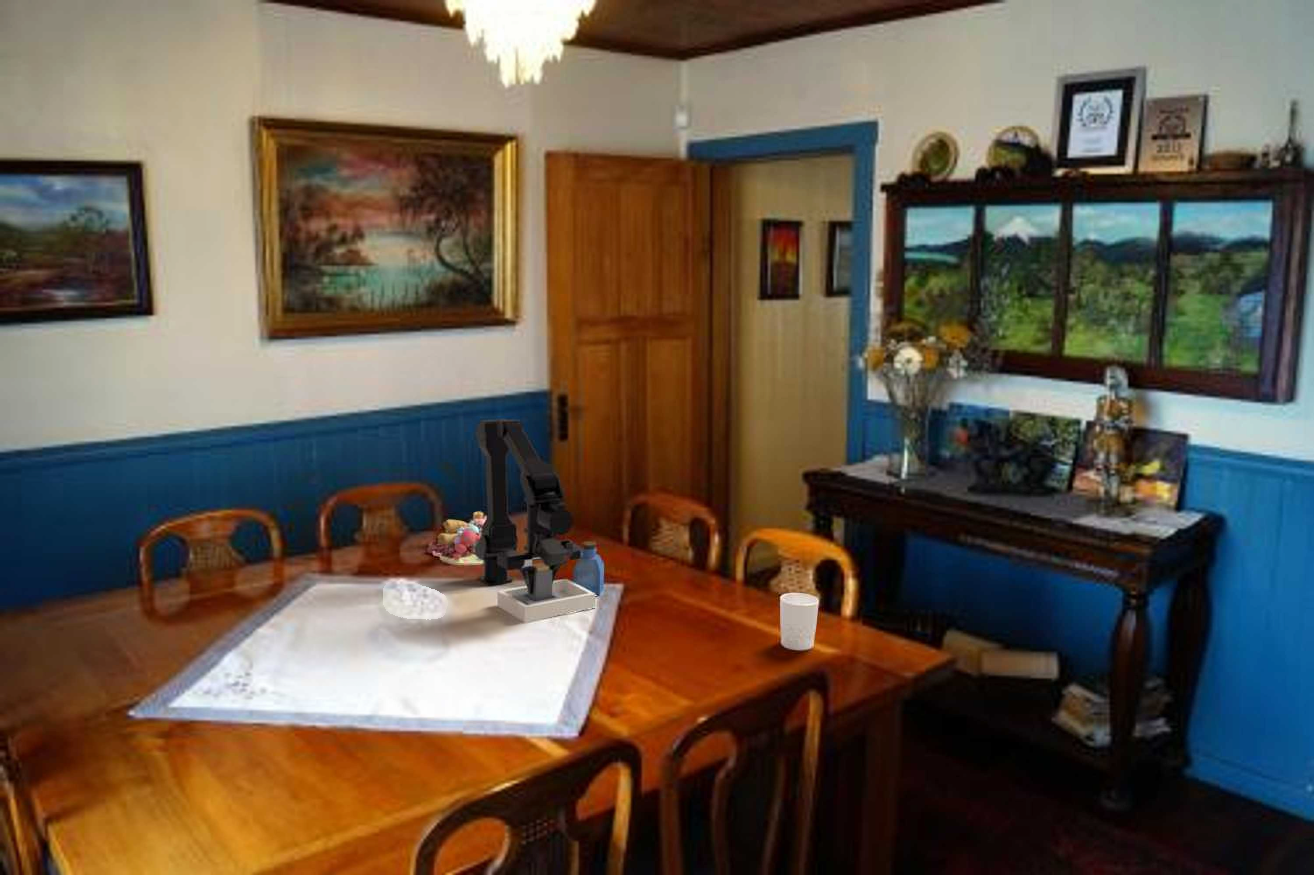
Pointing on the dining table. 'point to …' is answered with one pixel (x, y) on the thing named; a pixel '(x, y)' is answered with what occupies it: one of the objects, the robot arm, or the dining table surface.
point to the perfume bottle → (590, 569)
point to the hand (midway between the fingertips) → (539, 592)
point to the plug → (541, 583)
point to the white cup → (798, 620)
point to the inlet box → (546, 601)
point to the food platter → (459, 541)
